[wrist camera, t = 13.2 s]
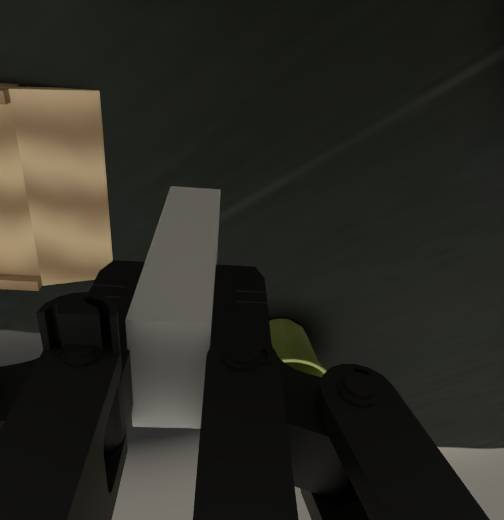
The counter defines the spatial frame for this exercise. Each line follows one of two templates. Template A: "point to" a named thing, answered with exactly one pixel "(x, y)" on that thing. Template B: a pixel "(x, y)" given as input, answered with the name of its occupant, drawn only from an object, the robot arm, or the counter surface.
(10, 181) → the oak riser
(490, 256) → the counter surface
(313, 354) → the plant pot
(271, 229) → the counter surface
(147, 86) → the counter surface
